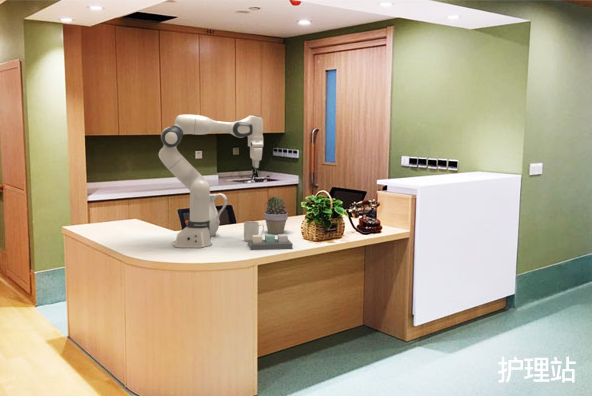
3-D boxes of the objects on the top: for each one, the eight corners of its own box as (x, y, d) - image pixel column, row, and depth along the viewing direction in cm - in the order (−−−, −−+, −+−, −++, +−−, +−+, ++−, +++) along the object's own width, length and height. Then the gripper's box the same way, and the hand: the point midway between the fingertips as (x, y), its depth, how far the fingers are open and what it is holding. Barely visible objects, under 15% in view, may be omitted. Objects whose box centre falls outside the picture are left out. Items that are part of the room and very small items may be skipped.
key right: (279, 243, 342) (279, 236, 342) (277, 241, 347) (277, 234, 346) (287, 242, 343) (287, 235, 343) (285, 240, 348) (286, 234, 347)
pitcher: (186, 236, 368) (186, 191, 364) (202, 231, 383) (202, 188, 379) (218, 240, 357) (218, 194, 353) (233, 235, 372) (233, 191, 368)
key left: (253, 243, 339) (253, 236, 338) (252, 241, 344) (252, 235, 343) (262, 243, 340) (262, 236, 339) (260, 241, 345) (260, 234, 344)
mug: (244, 242, 355) (244, 223, 353) (243, 239, 364) (243, 221, 362) (264, 241, 357) (264, 223, 355) (262, 238, 366) (263, 221, 364)
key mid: (266, 243, 340) (266, 236, 340) (264, 241, 345) (264, 234, 345) (274, 243, 342) (275, 236, 341) (273, 241, 346) (273, 234, 346)
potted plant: (291, 230, 394) (292, 192, 391) (288, 236, 375) (288, 197, 371) (264, 229, 396) (265, 192, 392) (259, 235, 377) (260, 196, 373)
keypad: (250, 250, 335) (250, 244, 334) (247, 245, 347) (247, 239, 347) (292, 248, 340) (292, 243, 340) (287, 243, 353) (287, 238, 352)
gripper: (247, 142, 353) (247, 165, 355) (252, 144, 333) (252, 168, 335) (258, 142, 355) (258, 165, 357) (264, 144, 335) (263, 168, 337)
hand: (255, 167), depth 346 cm, fingers open, 8 cm apart
